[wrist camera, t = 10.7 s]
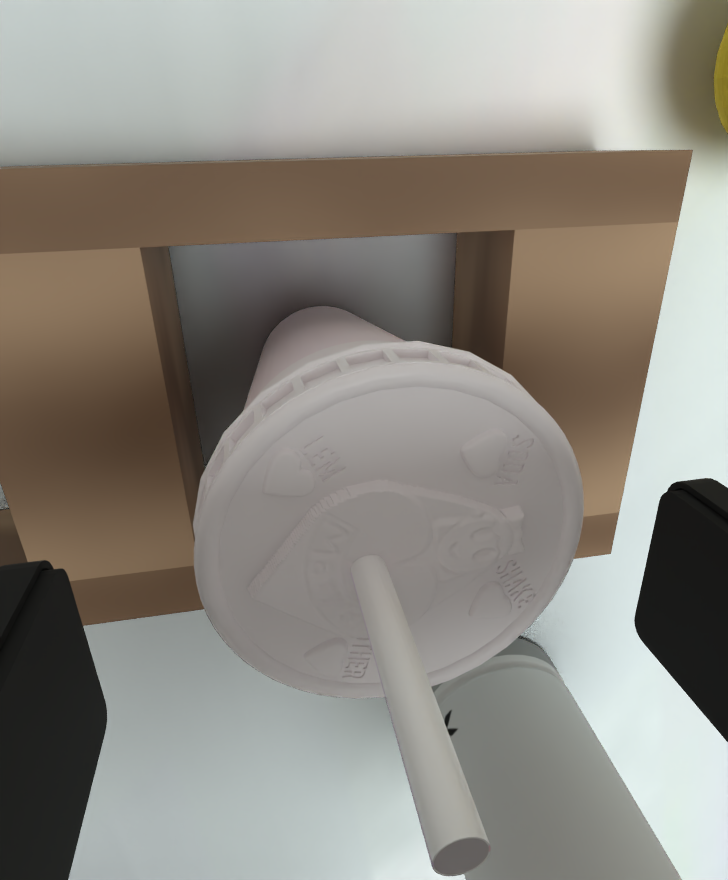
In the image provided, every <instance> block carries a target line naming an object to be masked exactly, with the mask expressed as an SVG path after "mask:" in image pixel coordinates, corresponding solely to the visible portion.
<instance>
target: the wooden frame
mask: <svg viewBox="0 0 728 880" xmlns="http://www.w3.org/2000/svg"><path fill="white" fill-rule="evenodd" d="M692 152H693V150H625V151H568V152H531V153H493V154H456V155H418V156H381V157H344V158H306V159H269V160H232V161H194V162H157V163H120V164H82V165H45V166H8V167H0V483H1V486H2V489H3V492H4V494H5V497H6V500H7V503H8V506H9V509H6V510H0V567H1V566H3V565H9V564H17V563H25V562H33V561H41V560H47V561H49V562H50V563H51V565H52V566H53V568H54V569H60V568H62V569H64V570H65V571H66V572H67V575H68V578H69V581H70V584H71V588H72V591H73V594H74V598H75V601H76V605H77V608H78V611H79V615H80V618H81V621H82V625H83V626H84V625H92V624H99V623H106V622H114V621H121V620H128V619H136V618H143V617H150V616H158V615H165V614H172V613H180V612H187V611H194V610H202V609H204V607H203V604H202V602H201V599H200V595H199V592H198V588H197V584H196V578H195V571H194V542H195V536H194V529H193V520H194V514H195V508H196V502H197V496H198V491H199V485H200V479H201V476H202V474H203V472H204V470H205V467H204V461H203V455H202V449H201V443H200V437H199V431H198V425H197V419H196V413H195V407H194V400H193V394H192V388H191V382H190V376H189V370H188V364H187V358H186V352H185V346H184V340H183V333H182V327H181V321H180V315H179V309H178V303H177V297H176V291H175V285H174V279H173V273H172V266H171V260H170V254H169V248H168V246H183V245H204V244H226V243H247V242H268V241H289V240H311V239H332V238H353V237H374V236H395V235H417V234H438V233H457V243H456V265H455V287H454V309H453V331H452V348H454V349H459V350H464V351H468V352H471V353H472V354H474V355H476V356H478V357H480V358H482V359H483V360H485V361H487V362H489V363H491V364H492V365H494V366H496V367H498V368H500V369H502V370H503V371H505V372H507V373H509V374H511V375H512V376H513V377H514V378H515V379H516V380H517V381H518V382H519V384H520V385H521V386H522V387H523V388H524V389H525V390H526V391H527V392H528V393H529V394H530V395H531V396H532V397H533V398H534V399H535V401H536V402H537V403H538V404H539V405H541V406H542V407H543V408H544V409H545V410H546V411H547V412H548V413H549V415H550V416H551V417H552V418H553V419H554V420H555V421H556V423H557V424H558V426H559V427H560V428H561V430H562V431H563V433H564V434H565V436H566V438H567V440H568V442H569V444H570V445H571V447H572V449H573V452H574V455H575V457H576V460H577V463H578V466H579V470H580V474H581V478H582V486H583V494H584V513H583V523H582V529H581V534H580V539H579V543H578V546H577V550H576V553H575V556H574V558H573V559H576V558H583V557H591V556H598V555H605V554H611V550H612V545H613V540H614V535H615V530H616V525H617V520H618V515H619V510H620V505H621V500H622V496H623V491H624V486H625V481H626V476H627V471H628V466H629V461H630V456H631V451H632V446H633V442H634V437H635V432H636V427H637V422H638V417H639V412H640V407H641V402H642V397H643V392H644V388H645V383H646V378H647V373H648V368H649V363H650V358H651V353H652V348H653V343H654V338H655V333H656V329H657V324H658V319H659V314H660V309H661V304H662V299H663V294H664V289H665V284H666V279H667V275H668V270H669V265H670V260H671V255H672V250H673V245H674V240H675V235H676V230H677V225H678V221H679V216H680V211H681V206H682V201H683V196H684V191H685V186H686V181H687V176H688V171H689V167H690V162H691V157H692Z"/></svg>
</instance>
